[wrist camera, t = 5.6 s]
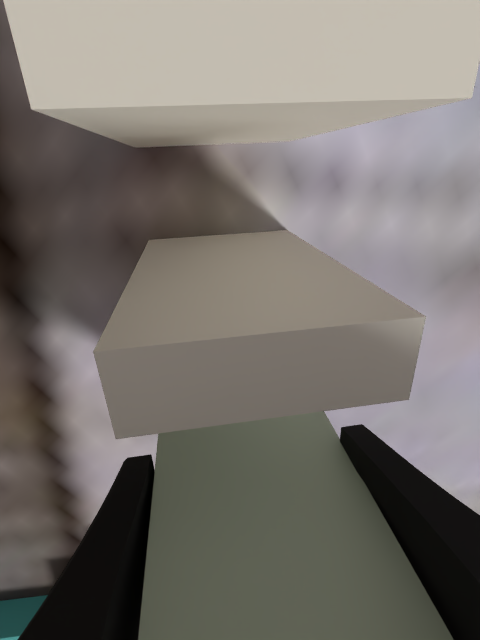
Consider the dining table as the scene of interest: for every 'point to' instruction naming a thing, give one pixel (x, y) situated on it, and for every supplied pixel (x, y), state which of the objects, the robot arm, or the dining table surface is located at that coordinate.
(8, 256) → the dining table surface
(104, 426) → the dining table surface
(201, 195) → the dining table surface
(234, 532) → the green domino
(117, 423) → the ivory domino
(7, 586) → the dining table surface
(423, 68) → the ivory domino
